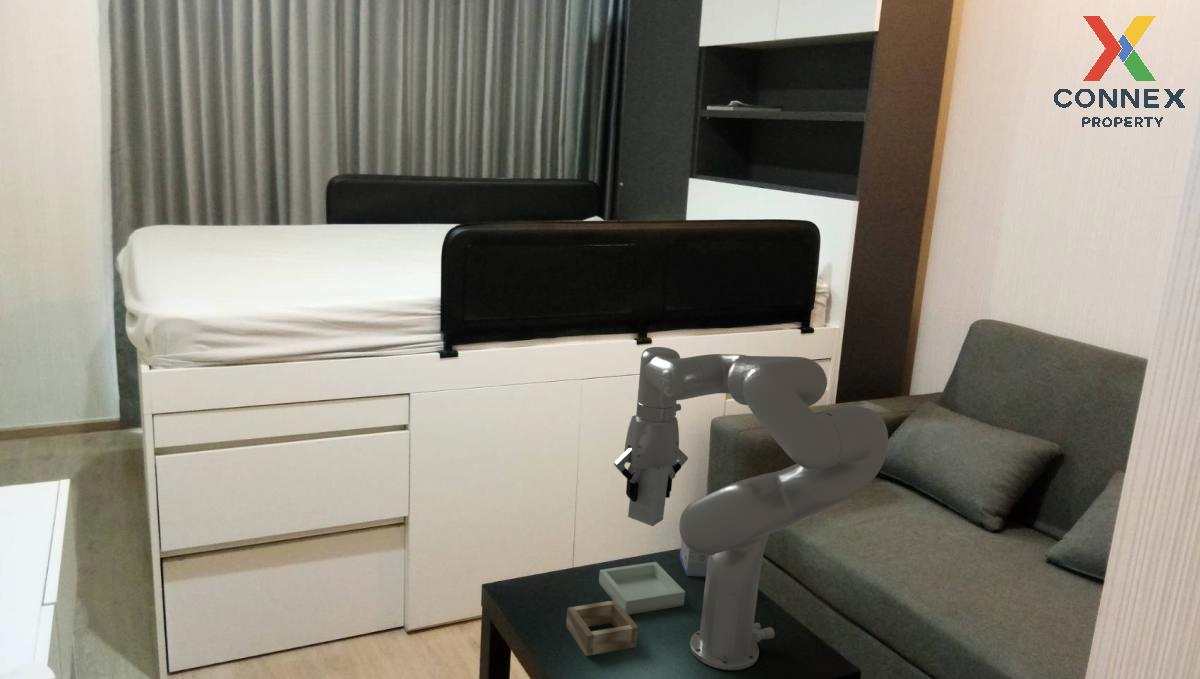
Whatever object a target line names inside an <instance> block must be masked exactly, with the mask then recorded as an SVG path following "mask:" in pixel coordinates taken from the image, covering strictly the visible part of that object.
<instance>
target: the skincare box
mask: <svg viewBox="0 0 1200 679" xmlns="http://www.w3.org/2000/svg"><path fill="white" fill-rule="evenodd" d="M668 474H669V467H667V466H663V467H654V468H650V469H645V470H641V472H640V474H639V476H638V478H637V480H636V482H637V483H638V484H639V485H638V497H637V501H636V502H633V501H632V500H631V499H630V498H629V501H628V503H629V504H628V511H627V513H628V514H627V517H628V518H629V519H632V520H635V521H638V522H641V523H643V524H646V525H649V526H650V527H654V526H655V525H657V524H659V523H661V522H662V521H663V520H664V515H665V505H666V499H667V498H666V491H667V483H668Z"/></svg>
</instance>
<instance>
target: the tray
mask: <svg viewBox="0 0 1200 679" xmlns="http://www.w3.org/2000/svg"><path fill="white" fill-rule="evenodd" d="M598 575H599V576H598V578H599V579H598V584H599V585H600V586H601V588H602V589H603V590H604V591H605V593H606V594H607V595H608V596H609V597H610V599H611V601H613V600H616V601H617V602H618V603H619V604H620V606H621V607H622V608H623V609H624V611H625V612H626V613H627V614H628V615H629V616H630V615H635V614H641V613H646V612H653V611H659V610H664V609H671V608H676V607H682V606H684V605H685V597H686V596H685V595H686V591H685V590H684V589H683V588H682V587H681V586H680V585H679V584H678V582H676V581H675V579H673V577H672V576H670V575H669V574H668V573H667V571H666V570H665V569H664V568H663V567H662V566H660V564H659V563H658V562H657V561H653V562H646V563H636V564H630V565H625V566H623V565H622V566H617V567H611V568H610V567H609V568H604V569H599V574H598Z"/></svg>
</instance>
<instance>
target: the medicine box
mask: <svg viewBox="0 0 1200 679" xmlns="http://www.w3.org/2000/svg"><path fill="white" fill-rule="evenodd" d="M708 557H709V556H704V555H700V554H697V553H695V552H693V551H692V550H690V549H689V548H688V547H687V546H686V545H685V543H684V542H683V540H682V539H681V542H680V551H679V560H680V563H681V565H682V568H683V570H684V573H685V575H686V576H687V577H706V570H707V562H708Z"/></svg>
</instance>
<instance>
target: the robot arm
mask: <svg viewBox="0 0 1200 679" xmlns="http://www.w3.org/2000/svg"><path fill="white" fill-rule="evenodd" d="M827 385H828V378H827V375H826V372H825V370H824V369H823V367H822V366H821V365H820V364H819V363H818V362H816V361H815V360H813V359H811V358H807V357H802V356H785V355H784V356H782V355H781V356H780V355H777V356H776V355H775V356H774V355H773V356H770V355H769V356H767V355H766V356H765V355H747V354H746V355H745V354H738V353H735V354H734V353H731V354H730V353H711V354H702V355H694V356H690V357H681V356H680V354H679V352H678V351H676V350H675V349H673V348H669V347H665V346H652V347H647V348H645V349H644V350H643V351H642V353H641V356H640V368H639V378H638V389H637V390H638V391H637V401H636V402H637V403H636V413H635V414H636V415H632V416H631V419H630V422H629V425H628V427H627V434H626V438H625V444H624V449H623V450H624V451H623V453H622V454H621V455H620V456H619V457H618V458H617V459H616V460H615V461H614V462H613V465H614V467H615V468H616V469H617V470H618V471H619V472H620V473H621V475H622V476H624V477H625V479H626V488H625V489H626V490H625V494H626V496H627V498H628V499H629V500H630V499H631V500H632V501H633V502H636V501H637V497H638V485H639V484H638V483H637V482H636V480H637V478H638V476H639V474H640V472H641V470H645V469H650V468H654V467H663V466H667V467H669V474H668V483H667V491H666V499H670V496H671V492H672V487H673V479H674V478H675V479H676V474H677V473H678V472H679V471H680V470H681V469H682V466H684V465H685V464H686V462H687V461H688V460H689V456H687V455H686V454H685V453H684V452H683V451H682V450H681V449H680V431H679V422H678V417H677V416H676V415H677V412H678V411H681V410H682V405H681V403H677V402H678V401H683V400H688V399H694V398H698V397H704V396H709V395H716V394H717V395H718V394H730V395H731V396H730V397H732V399H733V400H734V401H736V402H737V403H738V404H740V405H743V406H747V407H748V408H749V410H750V411H751V413H752V414H753V415H754V417H755V418H756V419H757V421H758V422H759V423H760V424H761V425H762V426H763V427H764V429H765V430H766V431H767V432H768V433H769V434H770V436H772V438H773V439H774V440H775V442H776V443H777V444H778V446H780V447H781V449H782V450H783V451H784V453H786V455H788V457H789V458H790V459H791V460H792V461H794V463H795V464H793V465H791V466H788V467H786V468H783V469H781V470H777V471H774V472H768V473H764V474H759V475H756V476H752V477H748V478H745V479H742V480H739V481H736V482H733V483H731V484H728V485H726V486H724V487H721V488H719V489H717V490H715V491H713V492H710V493H708V494H706V495H705V496H702V497H700V498H698V499H696V500H693V501H692V502H690V503H689V504H688V505H687V506H686V507H684V510H683V511H682V513H681V515H680V518H679V528H678V529H679V534H680V538H681V541H682V540H683V542H684V543H685V545H686V546H687V547H688V548H689V549H690V550H692V551H693V552H695V553H697V554H700V555H704V556H708V562H707V570H706V576H705V580H704V581H705V582H704V591H703V599H702V608H701V609H702V610H701V617H700V618H701V619H700V628H699V630H697V631H696V632H694V633H693V634H692V635H691V638H690V641H689V649H690V652H691V653H692V655H693V656H694V657H695V658H696V659H697V660H699V661H700V662H702V663H703V664H705V665H707V666H709V667H713V668H714V669H719V670H724V671H727V670H728V671H738V670H744V669H747V668H749V667H752V666H753V665H754V664H755V663H757V661H758V659H759V654H760V650H759V646H758V644H757V643H760V642H761V640H769V639H773V638H774V637H775V630H774V629H773V627H771V626H769V627H764V628H762V626H761V623H759V622H755V616H756V608H757V600H758V592H759V591H758V590H759V585H760V584H759V583H760V576H761V570H762V569H761V568H762V561H763V557H764V552H765V549H766V545H767V542H768V540H769V536H770V534H773V533H775V532H778V531H781V530H784V529H786V528H788V527H790V526H792V525H793V524H796V523H798V522H799V521H801V520H804V519H806V518H807V517H810V516H813V515H815V514H817V513H820V512H822V511H824V510H826V509H828V508H831V507H833V506H836V505H837V504H841V503H842V502H844V501H846V500H848V499H850V498H853V496H855V495H856V494H858V493H860V492H861V491H862V490H863V489H865V488H866V487H867V486H868V485H870V484H871V482H872V481H873V480H875V478H876V476H878V473H879V472H880V470H881V469H882V467H883V465H884V462H885V459H886V456H887V453H888V447H889V433H888V428H887V425H886V423H885V421H884V419H883V418H882V417H881V415H880V414H878V412H876V411H875V410H872V409H871V408H868V407H865V406H864V407H863V406H859V405H848V406H847V405H845V406H840V407H835V408H831V409H827V410H823V411H822V410H821V411H818V412H814V411H813V410H812V409H811V408H810V407H811V406H814V405H815V404H816V403H818V402H820V400H821V399H822V397H823V396H824V395H825V394H826V391H827ZM626 463H627V464H628V463H629V466H628V467H627V468H626V466H625V464H626Z"/></svg>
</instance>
